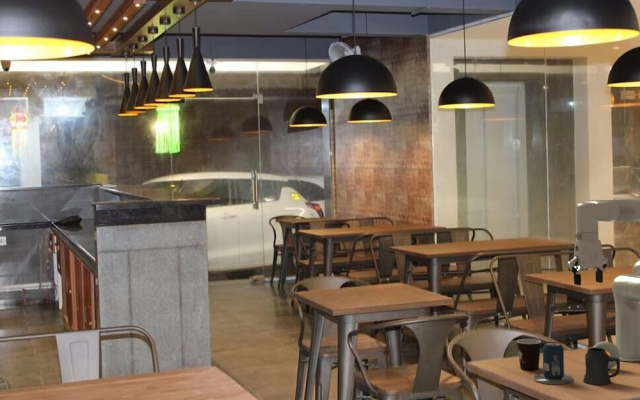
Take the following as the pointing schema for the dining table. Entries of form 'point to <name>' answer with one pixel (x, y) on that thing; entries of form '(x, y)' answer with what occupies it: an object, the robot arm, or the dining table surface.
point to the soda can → (553, 361)
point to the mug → (599, 367)
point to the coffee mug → (529, 354)
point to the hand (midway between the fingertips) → (588, 283)
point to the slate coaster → (543, 380)
